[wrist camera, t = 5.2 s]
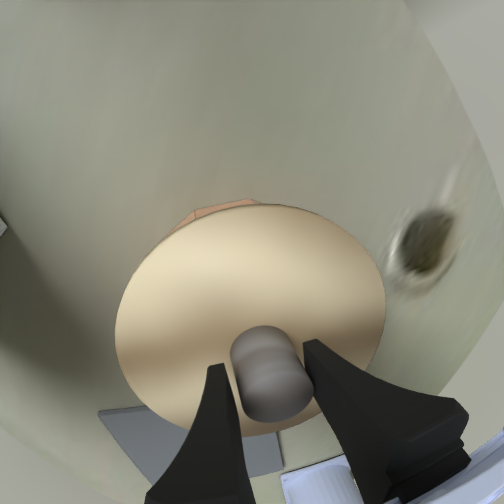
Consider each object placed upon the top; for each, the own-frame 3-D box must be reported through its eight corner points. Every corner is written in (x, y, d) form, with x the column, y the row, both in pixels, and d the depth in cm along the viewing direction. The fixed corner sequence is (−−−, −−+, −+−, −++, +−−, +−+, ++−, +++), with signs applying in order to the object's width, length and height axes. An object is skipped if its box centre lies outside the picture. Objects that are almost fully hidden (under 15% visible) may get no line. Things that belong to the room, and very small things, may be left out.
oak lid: (367, 393, 18) (397, 436, 14) (164, 441, 16) (166, 495, 13) (380, 184, 13) (439, 204, 10) (80, 237, 12) (42, 278, 8)
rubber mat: (282, 465, 27) (283, 469, 26) (158, 487, 25) (158, 491, 24) (265, 381, 22) (266, 386, 21) (99, 411, 20) (97, 415, 20)
